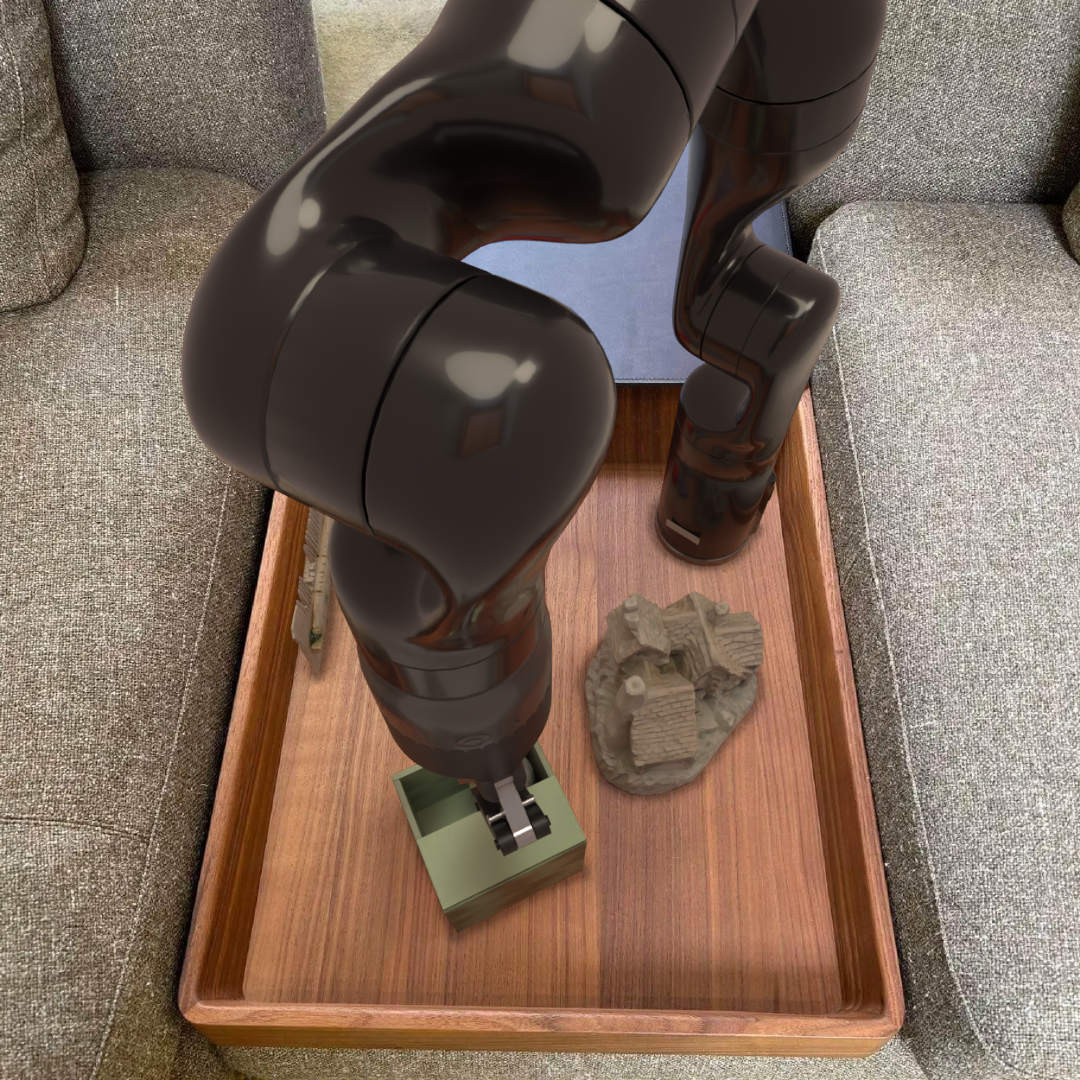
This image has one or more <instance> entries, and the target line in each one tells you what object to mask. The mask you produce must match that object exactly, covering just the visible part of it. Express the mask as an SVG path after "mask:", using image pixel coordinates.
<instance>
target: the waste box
mask: <svg viewBox="0 0 1080 1080" xmlns="http://www.w3.org/2000/svg"><path fill="white" fill-rule="evenodd" d="M525 757H526V758H527V760H528V761H529V762H530V763H531V765H532V766H533V769H534V775H535V784H536V783H538V782H540V781H542V780H545V779H547V778H549V777H551V776H553V775H555V773H554V771H553V767H552V766H551V764H550V762H549V761H548V758H547V756H546V754H545V752H544V750H543V748H542V746H541V744H540V741H539V739H538V740H537V742H536V743H535V745H534V746H533V747H532V749H531V750H530V751H529V752H528V754H527V755H526V756H525ZM390 778H391V781H392V784H393V786H394V788H395V791H396V793H397V795H398V796H397V797H398V798H399V801H400V804H401V807H402V809H403V811H404V814H405V817H406V819H407V822H408V825H409V827H410V829H411V832H412V835H413V838H414V841H415V843H416V845H417V847H418V844H417V842H416V840H418V839H420V838H422V837H424V836H426V835H429V834H431V833H433V832H435V831H437V830H439V829H441V828H443V827H445V826H448V825H450V824H452V823H454V822H456V821H458V820H460V819H462V818H464V817H467V816H469V815H471V814H473V813H475V812H476V809H475V804H474V803H475V800H476V799H475V796H473V795H472V792H471V790H470V788H469V785H468V783H466V784H459V782H458V779H457V778H451V777H446V776H442V775H438V774H435V773H433V772H430V771H428V770H426V769H424V768H423V767H421V766H419V765H418V764H416V763H415V764H414V765H411V766H409V767H407V768H405V769H403V770H400V771H398V772H396V773H394V774H392V775H390ZM587 845H588V840H586V841H584V842H582V843H580V844H578V845H576V846H574V847H572V848H570V849H568V850H566V851H564V852H562V853H560V854H558V855H556V856H554V857H552V858H550V859H548V860H546V861H544V862H542V863H540V864H538V865H536V866H534V867H532V868H530V869H528V870H526V871H523V872H521V873H519V874H517V875H515V876H513V877H511V878H509V879H507V880H505V881H503V882H501V883H499V884H497V885H495V886H493V887H491V888H489V889H487V890H485V891H483V892H481V893H479V894H477V895H475V896H473V897H471V898H469V899H467V900H465V901H463V902H461V903H459V904H457V905H455V906H453V907H451V908H449V909H447V910H445V911H443V909H442V908H441V909H442V912H443V914H444V915H445V917H446V918H447V920H448V922H449V923H450V924H451V926H452V927H453V928H454V930H455V932H456V933H458V934H459V933H461V932H463V931H464V930H466V929H469V928H471V927H473V926H474V925H475V926H476V925H477V924H478V923H480V922H482V921H485V920H486V919H488V918H490V917H493V916H495V915H496V914H499V913H500V912H503V911H504V910H507V909H509V908H510V907H512V906H514V905H516V904H518V903H520V902H522V901H524V900H526V899H529V898H530V897H532V896H535V895H536V894H538V893H540V892H542V891H544V890H546V889H548V888H550V887H552V886H554V885H556V884H558V883H561V882H562V881H564V880H567V879H568V878H570V877H572V876H574V875H576V874H578V873H580V872H582V871H583V868H584V862H585V858H586V857H585V856H586V850H587ZM418 850H419V853H420V854H421V852H420V849H419V847H418ZM421 858H422V861H423V863H424V865H425V862H424V860H423V857H422V856H421ZM425 868H426V871H427V872H428V870H427V867H426V865H425ZM428 876H429V879H430V881H431V884H432V885H433V883H432V880H431V878H430V875H429V874H428ZM433 889H434V890H435V888H434V887H433ZM435 894H436V896H437V893H436V892H435ZM437 899H438V901H439V898H438V896H437ZM439 903H440V901H439Z"/></svg>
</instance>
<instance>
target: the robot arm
mask: <svg viewBox="0 0 1080 1080" xmlns="http://www.w3.org/2000/svg"><path fill="white" fill-rule="evenodd" d="M887 8H888V0H446V2H445V4H444V6H443V7H442V9H441V11H440V13H439V15H438V16H437V18H436V20H435V23H434V24H433V26H432V28H431V29H430V31H429V32H428V33H427V34H426V35H425V37H424V38H423V39H422V40H421V41H420V42H419V43H417V44H416V46H415V47H414V48H413V49H412V50H411V51H409V53H407V54H406V55H405V56H404V57H403V58H402V59H401V60H399V61H398V62H397V63H396V64H395V65H393V67H392V68H389V70H388V71H386V73H384V74H383V75H382V76H381V77H380V78H379V79H378V80H377V81H376V82H375V83H373V84H372V85H371V86H370V87H369V88H368V89H367V91H365V93H363V94H362V95H361V96H360V98H359V99H358V100H356V101H355V103H354V104H353V105H351V107H350V108H349V109H348V110H346V112H345V113H344V114H343V115H342V116H341V117H339V119H337V120H336V122H334V124H333V125H331V126H330V127H329V128H328V129H327V130H326V131H325V132H324V133H323V134H322V135H321V136H320V137H319V138H318V139H317V140H315V142H313V144H312V145H311V146H310V147H309V148H307V149H306V150H305V152H303V153H302V154H301V155H300V156H299V157H298V158H297V159H296V160H295V161H294V162H293V163H292V164H291V165H290V166H289V167H288V168H286V170H285V171H283V173H281V174H280V176H278V177H277V178H276V179H275V180H274V181H273V182H272V184H270V185H269V186H268V187H267V188H266V189H265V190H264V191H263V192H262V193H261V195H260V196H258V198H256V200H255V201H254V202H253V203H252V204H251V205H250V206H249V208H248V209H247V210H246V211H245V212H244V213H243V215H241V217H240V218H239V219H238V220H237V221H236V222H235V224H234V225H233V227H232V228H231V230H230V231H229V232H228V234H227V235H226V237H225V238H224V239H223V241H222V242H221V244H220V245H219V246H218V248H217V249H216V251H215V253H214V254H213V256H212V257H211V259H210V260H209V262H208V265H207V266H206V268H205V270H204V273H203V275H202V277H201V279H200V281H199V284H198V285H197V288H196V289H195V292H194V295H193V297H192V301H191V304H190V308H189V312H188V314H187V318H186V322H185V325H184V331H183V336H182V346H181V357H180V377H181V389H182V397H183V403H184V406H185V409H186V412H187V414H188V417H189V420H190V421H189V422H190V423H191V425H192V428H193V430H194V432H195V433H196V435H197V436H198V438H199V439H200V440H201V442H202V444H203V445H204V446H205V447H206V448H207V449H208V450H209V451H210V453H212V455H214V456H215V458H217V459H218V460H220V461H221V462H223V463H224V464H226V465H227V466H229V467H230V468H231V469H232V470H234V471H236V472H238V473H240V474H241V475H243V476H244V477H246V478H248V479H250V480H252V481H254V482H256V483H259V484H260V485H263V486H264V487H266V488H269V489H271V490H272V491H275V492H277V493H279V494H282V495H283V496H286V497H287V498H290V499H292V500H293V501H296V502H298V503H300V504H302V505H304V506H306V507H308V508H312V509H314V510H316V511H318V512H320V513H322V514H324V515H326V516H328V517H330V518H332V519H334V520H333V522H332V526H331V529H330V534H329V543H328V563H329V572H330V578H331V585H332V587H333V590H334V594H335V597H336V600H337V603H338V605H339V608H340V610H341V613H342V615H343V617H344V619H345V621H346V623H347V626H348V628H349V630H350V632H351V634H352V637H353V639H354V641H355V644H356V651H357V657H358V658H357V659H358V661H359V665H360V669H361V672H362V675H363V677H364V680H365V682H366V685H367V687H368V689H369V691H370V693H371V695H372V697H373V699H374V702H375V703H376V705H377V708H378V710H379V712H380V714H381V716H382V718H383V720H384V722H385V724H386V727H387V728H388V731H389V733H390V736H391V737H392V739H393V741H394V742H395V743H396V745H397V746H398V748H399V749H400V750H401V751H402V752H403V754H404V755H405V756H406V757H407V758H408V759H410V760H411V761H412V762H413V763H415V765H416V764H418V765H419V766H421V767H423V768H424V769H426V770H428V771H430V772H433V773H435V774H438V775H442V776H446V777H451V778H457V779H458V782H459V784H466V783H468V785H469V788H470V790H471V792H472V795H473V796H475V799H476V802H475V803H474V804H475V806H476V809H477V811H478V812H479V811H481V813H482V815H483V817H484V819H485V821H486V823H487V825H488V827H489V829H490V831H491V833H492V835H493V837H494V839H495V840H493V841H494V843H495V846H496V848H497V850H501V852H502V854H503V856H506V855H508V854H511V853H513V852H515V851H517V850H518V849H521V848H523V847H525V846H527V845H529V844H531V843H533V842H535V841H537V840H539V839H541V838H543V837H545V836H547V835H549V834H551V829H550V825H551V822H550V820H549V818H548V816H547V815H544V813H543V811H542V810H541V808H540V807H539V805H538V804H537V803H536V799H535V797H534V795H533V794H530V793H529V791H528V790H527V788H526V786H525V784H526V781H527V776H526V772H525V769H524V766H523V762H522V760H523V759H524V757H525V756H526V755H527V754H528V752H529V751H530V750H531V749H532V747H533V746H534V745H535V743H536V742H537V740H538V741H539V739H540V737H541V735H542V734H543V732H544V730H545V727H546V725H547V722H548V720H549V717H550V714H551V708H552V701H553V700H552V699H553V696H552V695H553V629H552V621H551V615H550V611H549V608H548V603H547V601H546V567H547V562H548V560H549V557H550V554H551V551H552V548H553V547H554V545H555V544H556V543H557V542H558V540H559V538H560V537H561V536H562V534H563V533H564V531H565V530H566V529H567V527H568V526H569V524H570V523H571V521H572V520H573V519H574V517H575V516H576V514H577V512H578V511H579V509H580V507H581V506H582V504H583V502H584V501H585V499H586V498H587V497H588V495H589V493H590V491H591V489H592V487H593V485H594V483H595V481H596V479H597V477H598V475H599V473H600V472H601V469H602V467H603V465H604V463H605V461H606V459H607V456H608V454H609V451H610V447H611V445H612V441H613V438H614V434H615V429H616V423H617V417H618V405H619V404H618V403H619V402H618V389H617V384H616V381H615V376H614V372H613V368H612V365H611V362H610V360H609V358H608V355H607V352H606V351H605V348H604V347H603V345H602V343H601V341H600V340H599V339H598V337H597V335H596V333H595V332H594V330H593V329H592V327H590V325H589V324H588V323H587V322H586V320H585V319H584V318H583V317H581V315H580V314H578V313H577V312H576V311H574V309H573V308H572V307H570V306H569V305H567V304H566V303H563V302H562V301H560V300H558V299H557V298H555V297H554V296H551V295H548V294H546V293H544V292H543V291H539V290H537V289H535V288H532V287H530V286H528V285H525V284H522V283H520V282H517V281H514V280H512V279H509V278H506V277H504V276H501V275H498V274H493V273H491V272H490V271H488V270H485V269H484V268H483V269H482V268H480V267H478V266H474V265H472V264H470V263H467V262H465V261H463V260H465V258H467V257H468V256H470V255H472V254H473V253H474V252H476V251H478V250H479V249H480V248H483V247H486V246H489V245H491V244H497V243H504V242H538V243H540V242H541V243H553V244H564V245H565V244H567V245H595V244H601V243H607V242H612V241H614V240H617V239H619V238H620V239H621V238H622V237H624V236H626V235H627V234H629V233H631V232H632V231H633V230H634V229H635V228H637V227H638V226H639V225H640V224H641V223H642V222H643V221H644V220H645V219H646V218H647V217H648V215H650V213H651V211H652V210H653V208H654V206H655V205H656V203H657V202H658V200H659V199H660V197H661V196H662V194H663V192H664V191H665V189H666V187H667V186H668V183H669V181H670V180H671V178H672V176H673V174H674V172H675V170H676V167H677V166H678V164H679V162H680V159H681V158H682V155H683V154H684V152H685V150H686V148H687V145H688V154H687V174H686V195H685V196H686V197H685V198H686V199H685V211H684V220H683V226H682V234H681V242H680V248H679V255H678V260H677V261H678V262H677V268H676V275H675V280H674V289H673V297H672V307H671V327H672V331H673V335H674V337H675V340H676V341H677V343H679V345H680V346H681V347H682V348H683V349H684V350H686V352H688V353H689V354H690V355H692V356H693V357H695V358H697V359H698V360H700V361H702V362H704V363H702V364H701V365H698V366H697V367H696V368H694V369H693V371H692V372H690V374H689V375H688V376H687V377H686V379H685V381H684V382H683V385H682V386H681V390H680V393H679V397H678V402H677V408H676V412H675V419H674V422H673V428H672V434H671V439H670V443H669V448H668V454H667V459H666V464H665V469H664V474H663V479H662V485H661V490H660V495H659V500H658V503H657V506H656V509H655V514H654V529H655V533H656V536H657V538H658V540H659V542H660V543H661V546H663V547H664V548H665V550H666V551H667V552H669V554H671V555H672V556H673V557H675V558H677V559H679V560H680V561H682V562H685V563H688V564H690V565H694V566H695V565H696V566H704V567H705V566H708V567H709V566H715V565H716V566H717V565H720V564H723V563H727V562H728V561H731V560H732V559H734V558H735V557H736V556H738V555H739V554H740V553H741V552H742V551H743V549H744V548H745V546H746V544H747V543H748V539H749V537H750V536H752V535H753V534H756V533H757V531H758V529H759V526H760V524H761V521H762V518H763V516H764V514H765V511H766V508H767V505H768V503H769V502H770V501H771V498H772V496H773V494H774V490H775V485H776V483H777V474H776V472H775V471H774V467H775V464H776V462H777V459H778V458H779V457H778V456H779V453H780V451H781V448H782V446H783V443H784V440H785V437H786V435H787V433H788V430H789V427H790V425H791V422H792V420H793V418H794V416H795V414H796V411H797V409H798V407H799V404H800V402H801V400H802V397H803V395H804V393H805V390H806V388H807V385H808V382H809V380H810V378H811V377H812V376H811V375H812V374H813V371H814V369H815V366H816V365H817V363H818V360H819V358H820V357H821V355H822V352H823V350H824V348H825V345H826V344H827V342H828V340H829V337H830V335H831V333H832V331H833V328H834V326H835V324H836V321H837V317H838V314H839V311H840V307H841V299H842V295H841V287H840V284H839V282H838V281H837V280H836V279H835V278H834V277H832V276H831V275H829V274H828V273H826V272H824V271H822V270H820V269H818V268H816V267H814V266H812V265H810V264H808V263H805V262H804V261H801V260H799V259H798V258H795V257H793V256H791V255H789V254H787V253H785V252H783V251H782V250H779V249H777V248H775V247H773V246H771V245H769V244H767V243H764V242H763V241H761V240H760V239H759V238H758V237H757V236H756V234H755V232H754V229H753V222H754V221H755V220H756V219H757V218H759V217H760V216H761V215H762V214H763V213H765V212H766V211H768V210H770V209H771V208H773V207H774V206H777V204H779V203H781V202H783V201H784V200H786V199H787V198H789V197H790V196H792V195H794V194H795V193H796V192H797V191H799V190H800V189H801V188H804V187H805V186H806V185H808V184H809V183H810V182H812V181H813V180H814V179H816V178H817V177H818V176H820V175H821V174H822V173H823V172H825V170H826V169H828V167H830V165H831V164H833V162H834V161H836V159H837V158H838V157H839V156H840V155H841V154H842V153H843V151H844V150H845V149H846V147H848V145H849V144H850V142H851V140H852V139H853V137H854V135H855V133H856V132H857V128H858V127H859V125H860V122H861V120H862V117H863V113H864V110H865V106H866V102H867V100H868V99H867V98H868V94H869V90H870V86H871V82H872V78H873V75H874V71H875V66H876V62H877V58H878V55H879V50H880V46H881V42H882V39H883V35H884V31H885V26H886V22H887V21H886V20H887V10H888V9H887Z"/></svg>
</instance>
